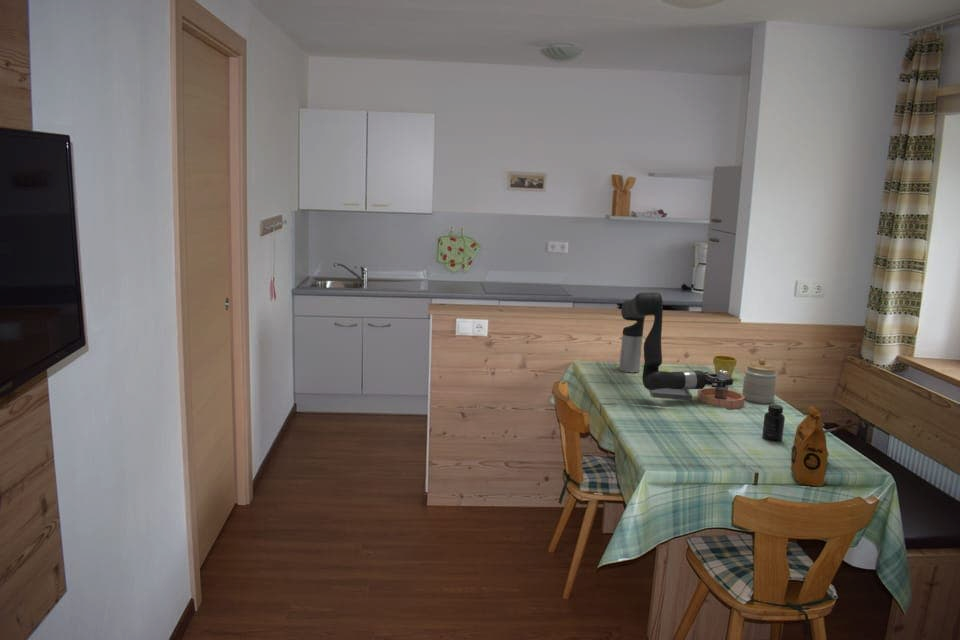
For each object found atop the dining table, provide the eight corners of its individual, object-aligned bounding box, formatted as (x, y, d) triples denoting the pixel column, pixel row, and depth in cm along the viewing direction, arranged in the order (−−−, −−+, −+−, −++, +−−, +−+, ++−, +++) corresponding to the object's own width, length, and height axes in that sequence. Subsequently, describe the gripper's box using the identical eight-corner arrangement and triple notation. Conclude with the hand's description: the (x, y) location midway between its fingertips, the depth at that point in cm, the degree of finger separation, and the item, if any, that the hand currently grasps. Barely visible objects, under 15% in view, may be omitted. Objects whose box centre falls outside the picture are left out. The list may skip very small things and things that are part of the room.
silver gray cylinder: (715, 401, 311) (718, 371, 309) (713, 397, 316) (716, 368, 314) (727, 402, 311) (731, 372, 308) (725, 398, 316) (728, 369, 313)
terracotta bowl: (701, 406, 306) (702, 398, 305) (694, 394, 323) (695, 386, 323) (747, 410, 304) (748, 402, 303) (737, 397, 322) (738, 389, 321)
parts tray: (652, 398, 314) (652, 392, 313) (648, 387, 329) (648, 382, 329) (691, 401, 312) (692, 395, 311) (685, 390, 328) (686, 385, 327)
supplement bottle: (765, 434, 276) (769, 402, 274) (784, 438, 272) (789, 406, 270) (758, 438, 271) (763, 406, 269) (778, 443, 267) (782, 410, 265)
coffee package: (791, 483, 231) (800, 414, 227) (787, 469, 243) (796, 403, 238) (826, 489, 228) (837, 419, 224) (821, 474, 240) (831, 408, 236)
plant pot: (706, 375, 355) (708, 355, 353) (723, 374, 360) (725, 354, 358) (722, 381, 346) (724, 361, 344) (739, 380, 350) (741, 359, 348)
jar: (776, 405, 313) (781, 364, 310) (743, 402, 316) (748, 360, 312) (771, 396, 326) (776, 356, 322) (739, 393, 328) (744, 353, 325)
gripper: (701, 375, 301) (737, 375, 305) (683, 366, 314) (718, 366, 318) (699, 394, 302) (735, 393, 306) (681, 384, 316) (716, 383, 320)
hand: (726, 379), depth 312 cm, fingers open, 8 cm apart
